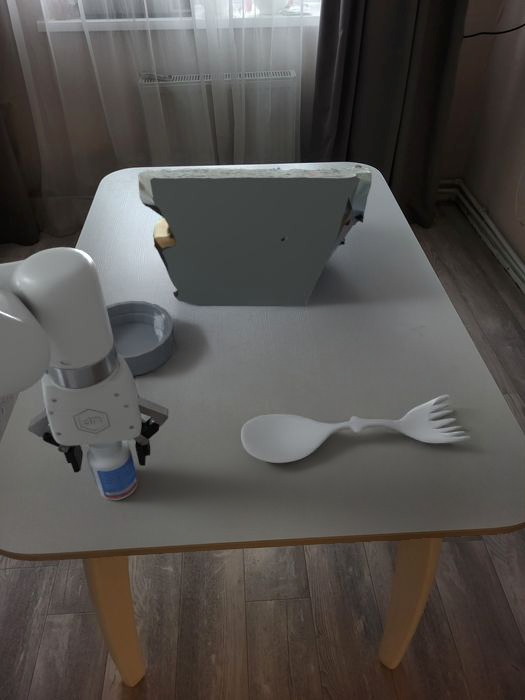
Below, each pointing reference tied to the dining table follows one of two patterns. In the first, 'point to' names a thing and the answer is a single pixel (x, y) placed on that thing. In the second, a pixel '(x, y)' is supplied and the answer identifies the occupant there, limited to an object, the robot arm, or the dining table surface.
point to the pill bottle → (113, 469)
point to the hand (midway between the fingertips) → (111, 459)
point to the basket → (251, 229)
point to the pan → (141, 334)
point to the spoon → (307, 435)
